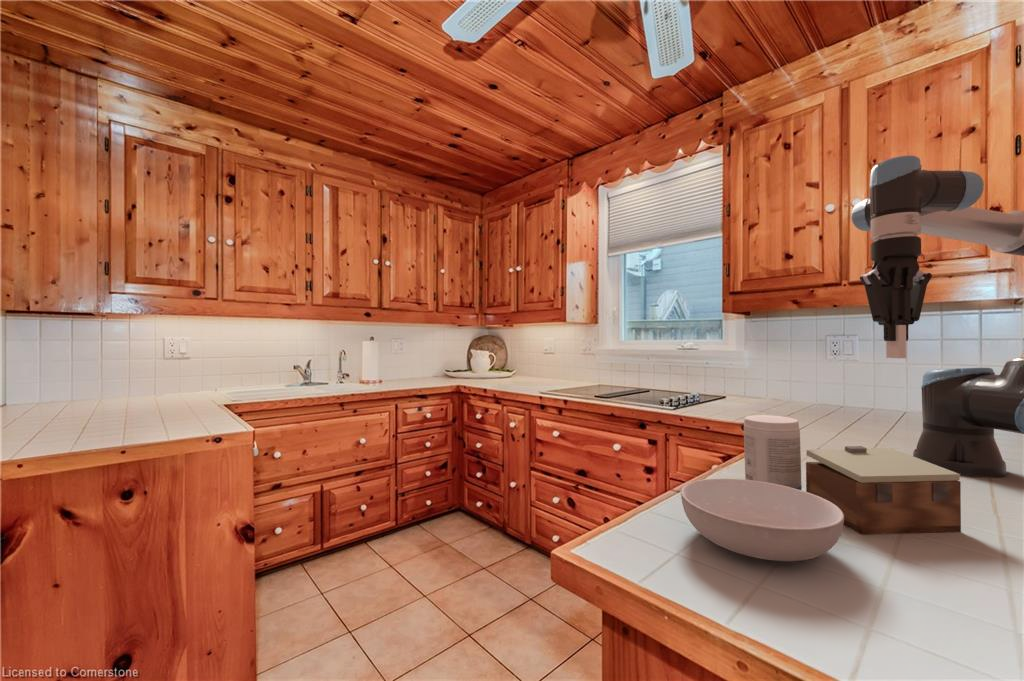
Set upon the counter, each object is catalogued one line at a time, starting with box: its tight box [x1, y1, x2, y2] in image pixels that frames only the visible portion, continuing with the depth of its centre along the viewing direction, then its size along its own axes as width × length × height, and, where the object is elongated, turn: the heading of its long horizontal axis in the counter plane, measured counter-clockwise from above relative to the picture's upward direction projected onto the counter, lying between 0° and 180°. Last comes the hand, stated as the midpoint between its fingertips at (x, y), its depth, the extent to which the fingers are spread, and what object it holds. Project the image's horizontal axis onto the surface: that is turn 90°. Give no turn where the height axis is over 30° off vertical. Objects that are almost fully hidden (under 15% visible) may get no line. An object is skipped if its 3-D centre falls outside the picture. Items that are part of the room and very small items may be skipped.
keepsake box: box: [805, 461, 962, 536], centre depth 73 cm, size 16×12×8 cm
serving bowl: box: [680, 477, 844, 562], centre depth 65 cm, size 21×21×7 cm
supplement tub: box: [743, 414, 803, 491], centre depth 86 cm, size 10×10×15 cm
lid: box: [805, 445, 961, 483], centre depth 74 cm, size 16×12×2 cm
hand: (896, 357), depth 86 cm, fingers closed
